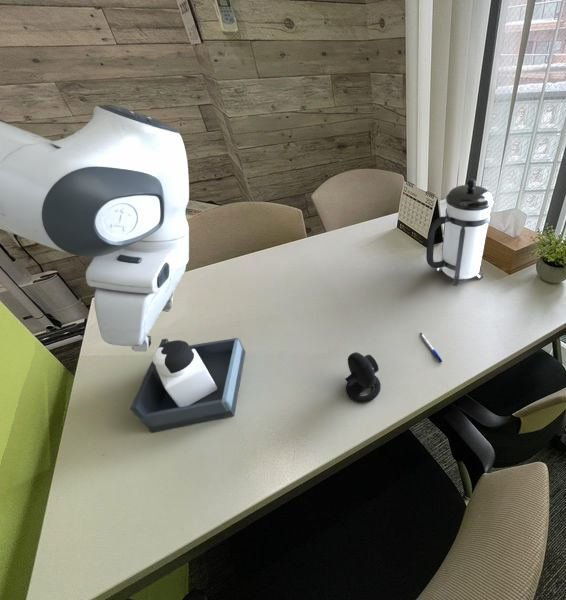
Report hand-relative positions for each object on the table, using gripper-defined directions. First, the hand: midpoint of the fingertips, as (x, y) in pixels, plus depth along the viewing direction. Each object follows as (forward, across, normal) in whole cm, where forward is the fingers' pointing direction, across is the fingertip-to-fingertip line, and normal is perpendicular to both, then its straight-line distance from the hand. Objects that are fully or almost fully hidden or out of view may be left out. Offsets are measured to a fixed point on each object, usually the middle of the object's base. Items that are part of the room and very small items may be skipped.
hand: (154, 327), depth 50 cm
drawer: (+23, -9, +5) cm, 26 cm away
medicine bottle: (+22, -7, +4) cm, 24 cm away
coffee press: (-1, -36, +70) cm, 79 cm away
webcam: (+13, 0, +37) cm, 39 cm away
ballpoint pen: (+6, -9, +53) cm, 54 cm away
